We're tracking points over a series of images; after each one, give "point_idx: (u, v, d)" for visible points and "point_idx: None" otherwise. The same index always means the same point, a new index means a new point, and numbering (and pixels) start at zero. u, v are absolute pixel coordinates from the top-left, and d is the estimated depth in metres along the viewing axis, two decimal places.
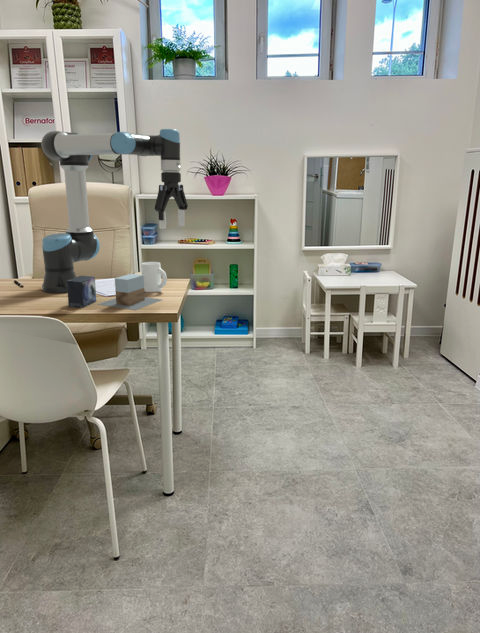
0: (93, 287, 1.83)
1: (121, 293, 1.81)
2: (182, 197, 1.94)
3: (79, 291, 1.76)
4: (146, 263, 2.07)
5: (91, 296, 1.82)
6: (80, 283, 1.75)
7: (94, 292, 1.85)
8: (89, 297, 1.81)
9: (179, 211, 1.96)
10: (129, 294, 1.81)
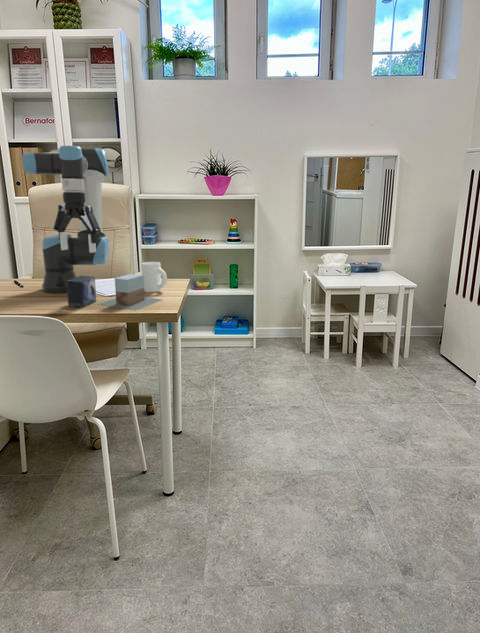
0: (93, 287, 1.83)
1: (121, 293, 1.81)
2: None
3: (79, 291, 1.76)
4: (146, 263, 2.07)
5: (91, 296, 1.82)
6: (80, 283, 1.75)
7: (94, 292, 1.85)
8: (89, 297, 1.81)
9: None
10: (129, 294, 1.81)
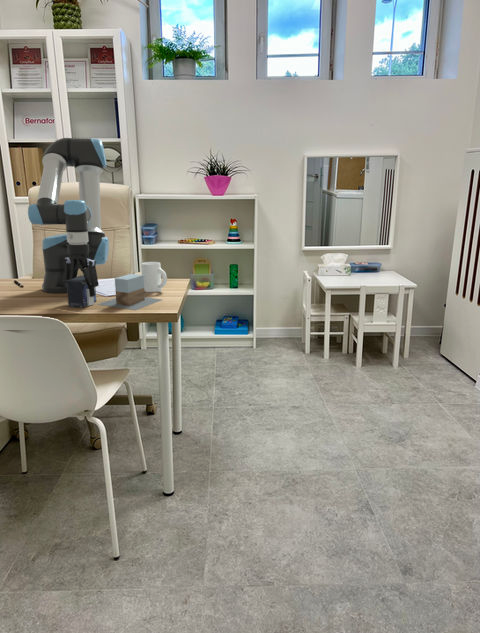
0: None
1: (121, 293, 1.81)
2: None
3: (79, 290, 1.76)
4: (146, 263, 2.07)
5: None
6: (80, 283, 1.75)
7: None
8: None
9: None
10: (129, 294, 1.81)
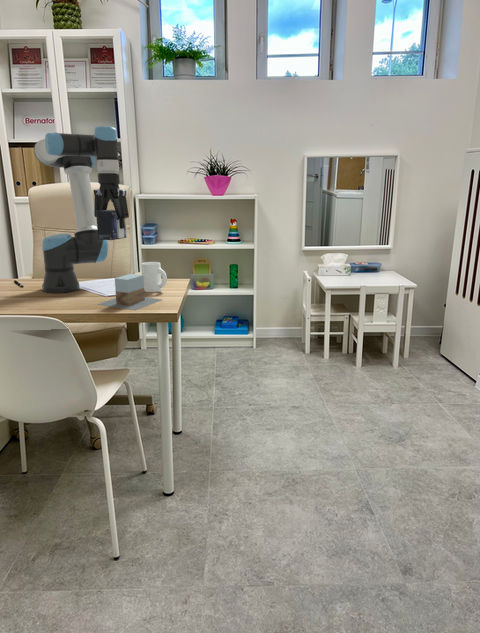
0: None
1: (121, 293, 1.81)
2: None
3: (108, 221, 1.71)
4: (146, 263, 2.07)
5: None
6: (109, 213, 1.70)
7: None
8: None
9: None
10: (129, 294, 1.81)
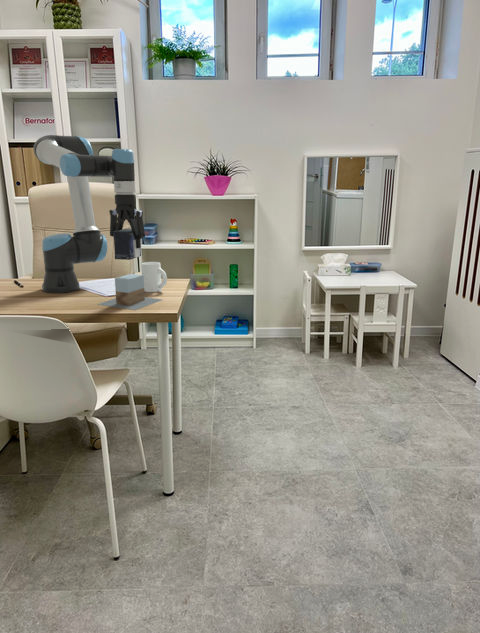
0: None
1: (121, 293, 1.81)
2: None
3: (126, 241, 1.75)
4: (146, 263, 2.07)
5: None
6: (127, 233, 1.74)
7: None
8: None
9: None
10: (129, 294, 1.81)
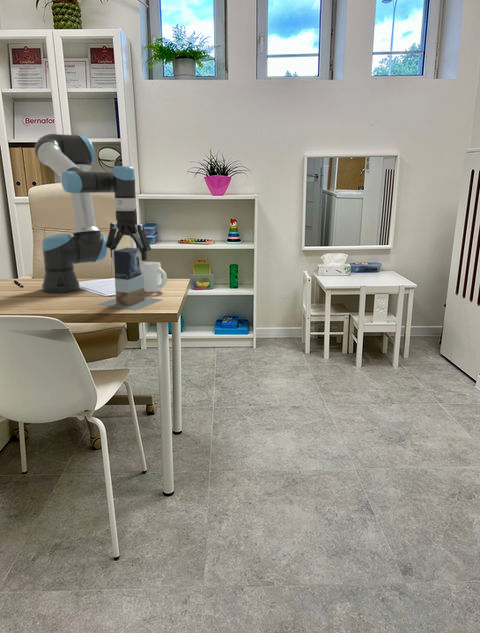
0: None
1: (121, 293, 1.81)
2: None
3: (125, 261, 1.77)
4: (146, 263, 2.07)
5: (136, 267, 1.83)
6: (127, 253, 1.76)
7: None
8: (135, 269, 1.82)
9: None
10: (129, 294, 1.81)
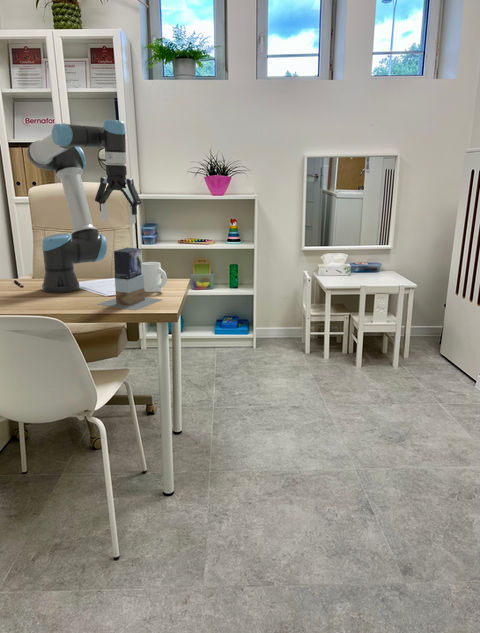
0: (139, 259, 1.84)
1: (121, 293, 1.81)
2: None
3: (125, 261, 1.77)
4: (146, 263, 2.07)
5: (136, 267, 1.83)
6: (127, 253, 1.76)
7: (140, 264, 1.85)
8: (135, 269, 1.82)
9: None
10: (129, 294, 1.81)
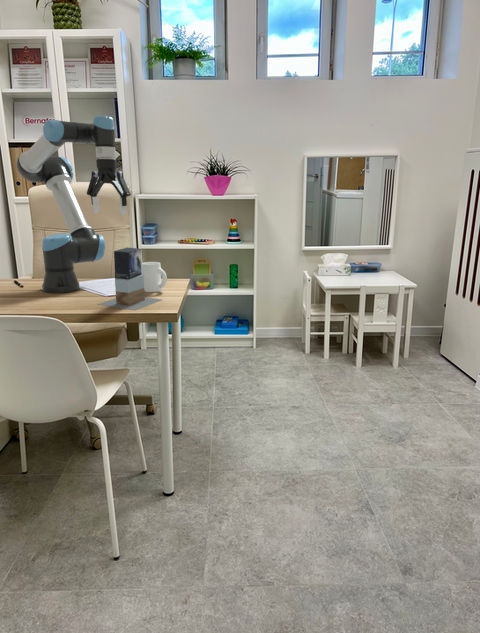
0: (139, 259, 1.84)
1: (121, 293, 1.81)
2: None
3: (125, 261, 1.77)
4: (146, 263, 2.07)
5: (136, 267, 1.83)
6: (127, 253, 1.76)
7: (140, 264, 1.85)
8: (135, 269, 1.82)
9: None
10: (129, 294, 1.81)
